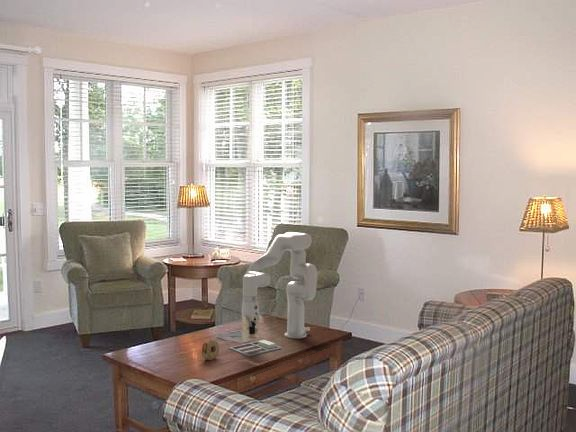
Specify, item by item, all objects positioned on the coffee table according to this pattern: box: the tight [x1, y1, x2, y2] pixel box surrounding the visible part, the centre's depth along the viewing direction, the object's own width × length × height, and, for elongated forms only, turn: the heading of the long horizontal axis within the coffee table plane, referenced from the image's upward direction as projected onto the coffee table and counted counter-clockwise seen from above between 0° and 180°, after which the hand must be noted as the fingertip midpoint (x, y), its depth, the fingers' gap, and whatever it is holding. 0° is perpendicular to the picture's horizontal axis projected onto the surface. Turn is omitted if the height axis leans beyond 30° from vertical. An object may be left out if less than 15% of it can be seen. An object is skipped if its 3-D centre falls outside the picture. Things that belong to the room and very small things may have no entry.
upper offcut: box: [257, 339, 276, 350], centre depth 334 cm, size 4×9×2 cm, turn 42°
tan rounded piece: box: [201, 338, 220, 361], centre depth 314 cm, size 10×4×10 cm, turn 143°
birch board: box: [241, 316, 259, 341], centre depth 326 cm, size 8×3×12 cm, turn 131°
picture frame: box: [215, 329, 264, 344], centre depth 352 cm, size 16×2×22 cm
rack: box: [228, 339, 283, 358], centre depth 329 cm, size 22×17×2 cm
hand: (250, 332), depth 326 cm, fingers closed on birch board, 3 cm apart
